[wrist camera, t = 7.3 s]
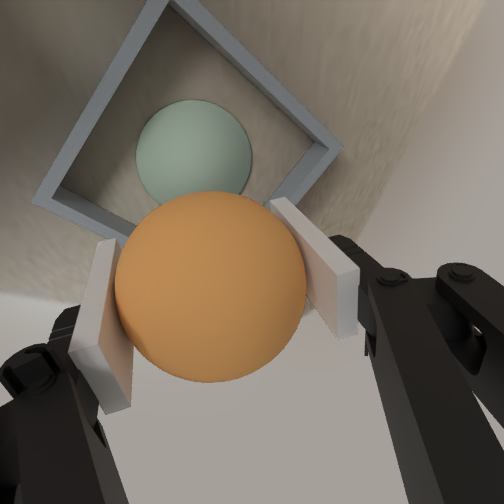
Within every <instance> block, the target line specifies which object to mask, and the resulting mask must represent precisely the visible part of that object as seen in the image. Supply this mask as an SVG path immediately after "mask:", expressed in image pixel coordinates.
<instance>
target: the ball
mask: <svg viewBox="0 0 504 504" xmlns="http://www.w3.org/2000/svg"><path fill="white" fill-rule="evenodd" d="M306 291H307V279H306V272H305V266H304V261H303V258H302V255H301V252H300V250H299V247H298V245H297V243H296V241H295V239H294V237H293V236H292V234H291V233H290V231H289V230H288V229H287V227H286V226H285V225H284V223H283V222H282V221H281V220H280V219H279V218H278V217H277V216H276V215H274V214H273V213H272V212H271V211H270V210H268V209H267V208H265V207H264V206H263V205H261V204H259V203H257V202H255V201H253V200H251V199H249V198H246V197H244V196H241V195H238V194H234V193H229V192H222V191H202V192H196V193H190V194H186V195H183V196H180V197H177V198H175V199H172V200H170V201H168V202H166V203H164V204H163V205H161V206H159V207H158V208H156V209H155V210H153V211H152V212H151V213H150V214H148V215H147V216H146V217H145V218H144V219H143V220H142V221H141V222H140V223H139V224H138V225H137V227H136V228H135V229H134V231H133V232H132V234H131V235H130V237H129V238H128V240H127V241H126V243H125V245H124V247H123V249H122V252H121V255H120V258H119V261H118V264H117V268H116V275H115V301H116V306H117V311H118V315H119V318H120V321H121V324H122V326H123V328H124V330H125V332H126V334H127V336H128V337H129V339H130V341H131V342H132V343H133V345H134V346H135V347H136V348H137V350H138V351H139V352H140V353H141V354H142V355H143V356H144V357H145V358H146V359H147V360H148V361H149V362H151V363H152V364H154V365H155V366H157V367H158V368H160V369H161V370H163V371H165V372H167V373H169V374H171V375H173V376H176V377H179V378H182V379H185V380H189V381H194V382H202V383H204V382H205V383H213V382H224V381H229V380H234V379H238V378H241V377H243V376H246V375H248V374H250V373H253V372H255V371H256V370H258V369H260V368H261V367H263V366H264V365H266V364H267V363H269V362H270V361H271V360H272V359H274V357H276V356H277V355H278V354H279V353H280V352H281V351H282V350H283V349H284V347H285V346H286V345H287V343H288V342H289V340H290V339H291V337H292V336H293V334H294V332H295V331H296V329H297V327H298V324H299V322H300V319H301V317H302V313H303V310H304V306H305V300H306Z"/></svg>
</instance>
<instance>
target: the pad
mask: <svg viewBox="0 0 504 504" xmlns="http://www.w3.org/2000/svg"><path fill="white" fill-rule="evenodd" d="M136 165H137V170H138V174H139V177H140V179H141V182H142V183H143V185H144V187H145V189H146V190H147V192H148V193H149V194H150V195H151V196H152V198H153V199H155V200H156V201H157V202H158V203H159V204H161V205H163V204H164V203H166V202H168V201H170V200H172V199H175V198H177V197H180V196H183V195H186V194H190V193H196V192H202V191H222V192H229V193H234V194H239V193H240V192H241V190H242V189H243V187H244V185H245V183H246V181H247V179H248V176H249V173H250V168H251V149H250V144H249V141H248V138H247V135H246V133H245V131H244V129H243V128H242V126H241V125H240V123H239V122H238V121H237V120H236V119H235V118H234V117H233V116H232V115H231V114H230V113H229V112H227V111H226V110H225V109H223V108H221V107H219V106H217V105H215V104H212V103H210V102H206V101H201V100H185V101H180V102H176V103H173V104H170V105H168V106H166V107H165V108H163V109H161V110H160V111H159V112H157V113H156V114H155V115H154V116H153V117H152V118H151V119H150V120H149V121H148V123H147V124H146V125H145V127H144V129H143V131H142V132H141V135H140V137H139V140H138V144H137V150H136Z"/></svg>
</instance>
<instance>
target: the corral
mask: <svg viewBox="0 0 504 504" xmlns="http://www.w3.org/2000/svg"><path fill="white" fill-rule="evenodd" d="M167 4H169V5H170V6H171V7H172V8H173V9H174V10H175V11H176V12H177V13H179V14H180V15H181V16H182V17H183V18H184V19H185V20H186V21H187V22H188V23H189V24H190V25H191V26H192V27H193V28H195V29H196V30H197V31H198V32H199V33H200V34H201V35H202V36H203V37H204V38H205V39H206V40H207V41H208V42H209V43H210V44H212V45H213V46H214V47H215V48H216V49H217V50H218V51H219V52H220V53H221V54H222V55H223V56H224V57H225V58H226V59H227V60H229V61H230V62H231V63H232V64H233V65H234V66H235V67H236V68H237V69H238V70H239V71H240V72H241V73H242V74H243V75H244V76H246V77H247V78H248V79H249V80H250V81H251V82H252V83H253V84H254V85H255V86H256V87H257V88H258V89H259V90H260V91H261V92H263V93H264V94H265V95H266V96H267V97H268V98H269V99H270V100H271V101H272V102H273V103H274V104H275V105H276V106H277V107H278V108H280V109H281V110H282V111H283V112H284V113H285V114H286V115H287V116H288V117H289V118H290V119H291V120H292V121H293V122H294V123H295V124H297V125H298V126H299V127H300V128H301V129H302V130H303V131H304V132H305V133H306V134H307V135H308V136H309V137H310V138H311V139H312V140H314V141H315V142H314V143H313V144H312V146H311V147H310V148H309V149H308V151H307V152H306V153H305V154H304V156H303V157H302V158H301V160H300V161H299V162H298V163H297V165H296V166H295V167H294V168H293V170H292V171H291V172H290V173H289V175H288V176H287V177H286V178H285V180H284V181H283V182H282V184H281V185H280V186H279V187H278V189H277V190H276V191H275V192H274V194H273V195H272V196H271V197H270V199H269V200H268V201H267V202H266V204H265V205H264V207H265V208H267V209H268V210H270V211H271V208H270V200H273V199H277V198H282V197H286V198H287V199H288V200H289V201H290V202H291V203H292V204H293V205H294V206H296V205H297V203H298V202H299V201H300V200H301V199H302V197H303V196H304V195H305V194H306V192H307V191H308V190H309V189H310V188H311V186H312V185H313V184H314V183H315V182H316V180H317V179H318V178H319V177H320V175H321V174H322V173H323V172H324V171H325V169H326V168H327V167H328V166H329V164H330V163H331V162H332V161H333V160H334V158H335V157H336V156H337V155H338V153H339V152H340V151H341V150H342V149H343V147H344V146H343V145H342V144H341V143H340V142H339V141H338V140H337V139H336V138H335V137H334V136H333V135H332V134H331V133H330V132H329V131H328V130H327V129H326V128H325V127H324V126H323V125H322V124H321V123H320V122H319V121H318V120H317V119H316V118H315V117H314V116H313V115H312V114H311V113H310V112H309V111H308V110H307V109H306V108H305V107H304V106H303V105H302V104H301V103H300V102H299V101H298V100H297V99H296V98H295V97H294V96H293V95H292V94H291V93H290V92H289V91H288V90H287V89H286V88H285V87H284V86H283V85H282V84H281V83H280V82H279V81H278V80H277V79H276V78H275V77H274V76H273V75H272V74H271V73H270V72H269V71H268V70H267V69H266V68H265V67H264V66H263V65H262V64H261V63H260V62H259V61H258V60H257V59H256V58H255V57H254V56H253V55H252V54H251V53H250V52H249V51H248V50H247V49H246V48H245V47H244V46H243V45H242V44H241V43H240V42H239V41H238V40H237V39H236V38H235V37H234V36H233V35H232V34H231V33H230V32H229V31H228V30H227V29H226V28H225V27H224V26H223V25H222V24H221V23H220V22H219V21H218V20H217V19H216V18H215V17H214V16H213V15H212V14H211V13H210V12H209V11H208V10H207V9H206V8H205V7H204V6H203V5H202V4H201V3H200V2H199V1H198V0H147V2H146V4H145V6H144V7H143V9H142V11H141V12H140V14H139V16H138V18H137V19H136V21H135V23H134V25H133V26H132V28H131V30H130V31H129V33H128V35H127V37H126V38H125V40H124V42H123V44H122V45H121V47H120V49H119V50H118V52H117V54H116V56H115V57H114V59H113V61H112V62H111V64H110V66H109V68H108V69H107V71H106V73H105V75H104V76H103V78H102V80H101V81H100V83H99V85H98V87H97V88H96V90H95V92H94V94H93V95H92V97H91V99H90V100H89V102H88V104H87V106H86V107H85V109H84V111H83V113H82V114H81V116H80V118H79V119H78V121H77V123H76V125H75V126H74V128H73V130H72V131H71V133H70V135H69V137H68V138H67V140H66V142H65V144H64V145H63V147H62V149H61V150H60V152H59V154H58V156H57V157H56V159H55V161H54V163H53V164H52V166H51V168H50V169H49V171H48V173H47V175H46V176H45V178H44V180H43V181H42V183H41V185H40V187H39V188H38V190H37V192H36V194H35V195H34V197H33V199H32V200H31V203H34V204H36V205H38V206H40V207H42V208H44V209H46V210H48V211H50V212H52V213H54V214H56V215H58V216H60V217H63V218H65V219H67V220H69V221H71V222H73V223H75V224H77V225H79V226H81V227H83V228H85V229H87V230H90V231H92V232H94V233H96V234H98V235H100V236H102V237H104V238H106V239H112V238H117V240H118V243H119V245H121V246H123V247H124V245H125V243H126V241H127V240H128V238H129V237H130V235H131V234H132V232H133V231H134V229H135V228H136V227H137V226H135V225H133V224H132V223H130V222H128V221H126V220H124V219H122V218H120V217H118V216H116V215H114V214H113V213H111V212H109V211H107V210H105V209H103V208H101V207H99V206H97V205H96V204H94V203H92V202H90V201H88V200H86V199H84V198H82V197H80V196H78V195H77V194H75V193H73V192H71V191H69V190H67V189H65V188H63V187H61V186H59V185H60V183H61V181H62V180H63V178H64V176H65V175H66V173H67V171H68V170H69V168H70V166H71V165H72V163H73V161H74V160H75V158H76V156H77V154H78V153H79V151H80V149H81V148H82V146H83V144H84V143H85V141H86V139H87V138H88V136H89V134H90V133H91V131H92V129H93V128H94V126H95V124H96V123H97V121H98V119H99V118H100V116H101V114H102V113H103V111H104V109H105V108H106V106H107V104H108V103H109V101H110V99H111V97H112V96H113V94H114V92H115V91H116V89H117V87H118V86H119V84H120V82H121V81H122V79H123V77H124V76H125V74H126V72H127V71H128V69H129V67H130V66H131V64H132V62H133V61H134V59H135V57H136V56H137V54H138V52H139V51H140V49H141V47H142V46H143V44H144V42H145V40H146V39H147V37H148V35H149V34H150V32H151V30H152V29H153V27H154V25H155V24H156V22H157V20H158V19H159V17H160V15H161V14H162V12H163V10H164V9H165V7H166V5H167Z"/></svg>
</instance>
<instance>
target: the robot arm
mask: <svg viewBox="0 0 504 504" xmlns="http://www.w3.org/2000/svg"><path fill="white" fill-rule="evenodd" d="M270 208H271V212H272V213H273V214H274V215H276V216H277V217H278V218H279V219H280V220H281V221H282V222H283V223H284V225H285V226H286V227H287V229H288V230H289V231H290V233H291V234H292V236H293V237H294V239H295V241H296V243H297V245H298V247H299V250H300V252H301V255H302V258H303V261H304V266H305V272H306V279H307V291H306V295H307V297H308V298H309V299H310V301H311V302H312V304H313V305H314V307H315V308H316V310H317V311H318V312H319V314H320V315H321V317H322V318H323V320H324V321H325V323H326V324H327V325H328V327H329V328H330V330H331V331H332V333H333V334H334V335H335V337H336V338H337V340H341V339H344V338H347V337H350V336H353V335H356V334H358V321H359V322H360V323H361V325H362V326H363V327H364V328H365V329H366V333H365V356H368V352H369V356H370V359H371V363H372V367H373V371H374V374H375V378H376V382H377V385H378V389H379V393H380V397H381V401H382V404H383V408H384V412H385V416H386V420H387V423H388V427H389V431H390V435H391V438H392V442H393V446H394V450H395V453H396V457H397V461H398V465H399V468H400V472H401V476H402V480H403V483H404V487H405V491H406V495H407V498H408V502H409V504H504V450H503V449H502V447H501V445H500V443H499V441H498V439H497V437H496V435H495V433H494V431H493V430H492V428H491V426H490V424H489V422H488V420H487V418H486V416H485V415H484V413H483V411H482V409H481V407H480V405H479V403H478V402H477V400H476V398H475V396H474V394H475V395H476V396H477V397H478V399H479V400H480V401H481V402H482V403H483V405H484V406H485V407H486V408H487V409H488V411H489V412H490V413H491V414H492V415H493V417H494V418H495V419H496V420H497V421H498V422H499V424H500V425H501V426H502V427H503V428H504V286H503V285H501V284H500V283H499V282H497V281H496V280H494V279H493V278H492V277H490V276H489V275H487V274H486V273H485V272H483V271H482V270H480V269H479V268H477V267H475V266H472V265H468V264H465V263H447V264H445V265H442V266H441V267H439V269H438V270H437V276H436V277H434V278H418V279H412V278H411V277H410V276H409V275H408V274H407V273H405V272H404V271H402V270H399V269H395V268H384V267H382V266H381V265H380V264H379V263H378V262H377V261H376V260H374V259H373V258H372V257H371V256H370V255H368V254H367V253H366V252H364V250H363V249H361V248H360V247H358V245H357V244H356V243H355V242H353V241H352V240H351V239H349V238H347V237H344V236H341V235H336V236H332V237H327V236H326V235H324V234H323V233H322V232H321V231H320V230H319V229H318V228H317V227H316V226H315V225H314V224H313V223H312V222H311V221H310V220H309V219H308V218H307V217H306V216H305V215H304V214H303V213H301V212H300V211H299V210H298V209H297V208H296V207H295V206H294V205H293V204H292V203H291V202H290V201H289V200H288V199H287V198H286V197H282V198H277V199H273V200H270ZM121 252H122V250H121V248H120V245H119V243H118V240H117V238H112V239H108V240H104V241H100V242H98V245H97V248H96V252H95V255H94V259H93V263H92V266H91V270H90V274H89V277H88V281H87V285H86V288H85V292H84V296H83V299H82V303H81V305H78V306H74V307H71V308H67V309H65V310H64V311H63V312H62V313H61V314H60V315H59V317H58V318H57V319H56V320H55V323H54V326H53V329H52V333H51V334H50V337H49V342H48V343H47V344H45V343H41V344H34V345H32V346H29V347H26V348H24V349H22V350H20V351H19V352H17V353H15V354H14V355H13V356H11V357H10V358H9V359H8V360H6V361H5V362H4V364H3V365H2V366H1V368H0V382H1V383H2V385H3V386H4V387H5V388H6V390H7V391H8V392H9V393H10V395H11V396H12V397H13V398H14V399H13V400H12V401H10V402H8V403H6V404H5V405H3V406H1V407H0V504H129V503H128V500H127V497H126V494H125V491H124V488H123V485H122V482H121V479H120V476H119V473H118V471H117V468H116V465H115V462H114V459H113V456H112V453H111V450H110V447H109V445H108V441H107V439H106V436H105V433H104V430H103V427H102V425H101V423H100V422H99V420H98V419H97V414H98V406H99V405H100V407H101V408H102V410H103V411H104V413H105V415H107V414H110V413H113V412H116V411H119V410H123V409H125V408H129V407H131V392H132V391H131V390H132V369H133V349H134V348H133V347H134V345H133V343H132V342H131V341H130V339H129V337H128V336H127V334H126V332H125V330H124V328H123V326H122V324H121V321H120V318H119V315H118V311H117V306H116V301H115V275H116V268H117V264H118V261H119V258H120V255H121ZM474 327H477V328H478V329H479V330H480V332H481V333H482V334H481V333H480V332H478V331H477V330H476V329H475V328H474ZM472 391H473V392H472ZM473 393H474V394H473Z"/></svg>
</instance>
